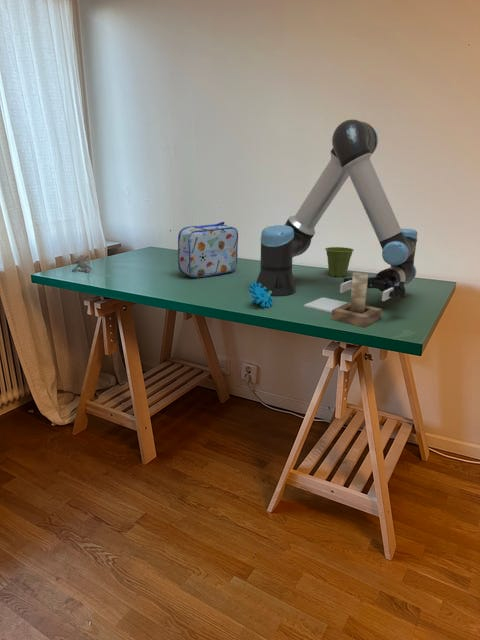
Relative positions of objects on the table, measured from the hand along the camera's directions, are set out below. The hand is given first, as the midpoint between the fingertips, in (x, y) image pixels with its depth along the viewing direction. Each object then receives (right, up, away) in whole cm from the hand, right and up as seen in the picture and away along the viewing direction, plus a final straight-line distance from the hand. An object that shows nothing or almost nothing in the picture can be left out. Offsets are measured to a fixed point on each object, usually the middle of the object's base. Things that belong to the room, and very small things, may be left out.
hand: (361, 292), depth 135 cm
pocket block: (-1, -8, +3) cm, 8 cm away
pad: (-7, -4, +15) cm, 17 cm away
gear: (-29, -4, +16) cm, 33 cm away
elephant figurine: (-105, +13, +63) cm, 123 cm away
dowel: (-1, -8, +3) cm, 8 cm away
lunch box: (-49, +11, +58) cm, 77 cm away
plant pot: (+5, +11, +58) cm, 59 cm away
